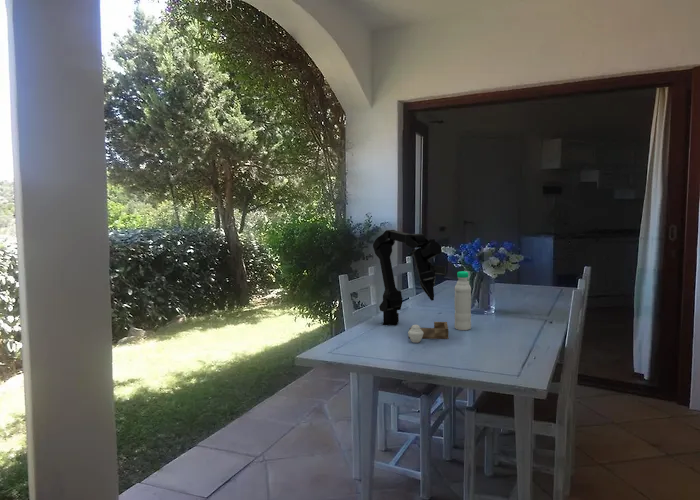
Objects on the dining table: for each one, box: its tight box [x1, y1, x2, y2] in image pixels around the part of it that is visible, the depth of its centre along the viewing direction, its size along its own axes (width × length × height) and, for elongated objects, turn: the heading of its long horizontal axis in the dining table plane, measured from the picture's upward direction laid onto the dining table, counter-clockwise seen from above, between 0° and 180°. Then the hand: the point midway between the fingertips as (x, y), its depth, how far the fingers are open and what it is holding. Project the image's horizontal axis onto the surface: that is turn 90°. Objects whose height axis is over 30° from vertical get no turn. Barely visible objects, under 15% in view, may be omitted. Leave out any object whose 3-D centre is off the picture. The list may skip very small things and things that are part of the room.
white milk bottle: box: [454, 270, 472, 331], centre depth 212 cm, size 7×7×25 cm
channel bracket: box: [408, 321, 449, 340], centre depth 206 cm, size 16×14×4 cm
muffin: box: [407, 324, 424, 344], centre depth 195 cm, size 6×6×7 cm
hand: (432, 299), depth 198 cm, fingers open, 9 cm apart
